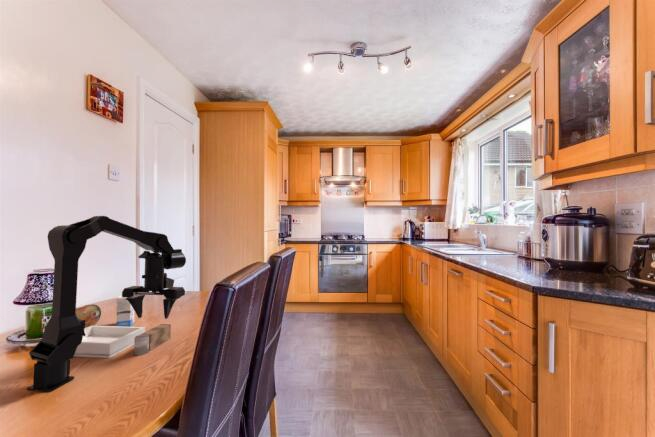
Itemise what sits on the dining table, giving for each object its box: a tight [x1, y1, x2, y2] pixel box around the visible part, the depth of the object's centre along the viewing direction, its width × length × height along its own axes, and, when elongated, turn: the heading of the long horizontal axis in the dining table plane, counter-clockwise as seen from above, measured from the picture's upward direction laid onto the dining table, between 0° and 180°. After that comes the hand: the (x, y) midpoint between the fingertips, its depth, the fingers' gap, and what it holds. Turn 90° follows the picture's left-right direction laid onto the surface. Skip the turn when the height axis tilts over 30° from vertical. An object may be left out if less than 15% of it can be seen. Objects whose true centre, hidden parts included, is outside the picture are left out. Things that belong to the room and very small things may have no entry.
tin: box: [76, 304, 102, 328], centre depth 118 cm, size 15×3×8 cm, turn 168°
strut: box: [133, 323, 172, 356], centre depth 101 cm, size 14×4×5 cm, turn 176°
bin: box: [73, 325, 146, 359], centre depth 101 cm, size 16×20×4 cm
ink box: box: [116, 294, 136, 327], centre depth 123 cm, size 9×5×12 cm, turn 22°
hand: (153, 318), depth 102 cm, fingers open, 9 cm apart
